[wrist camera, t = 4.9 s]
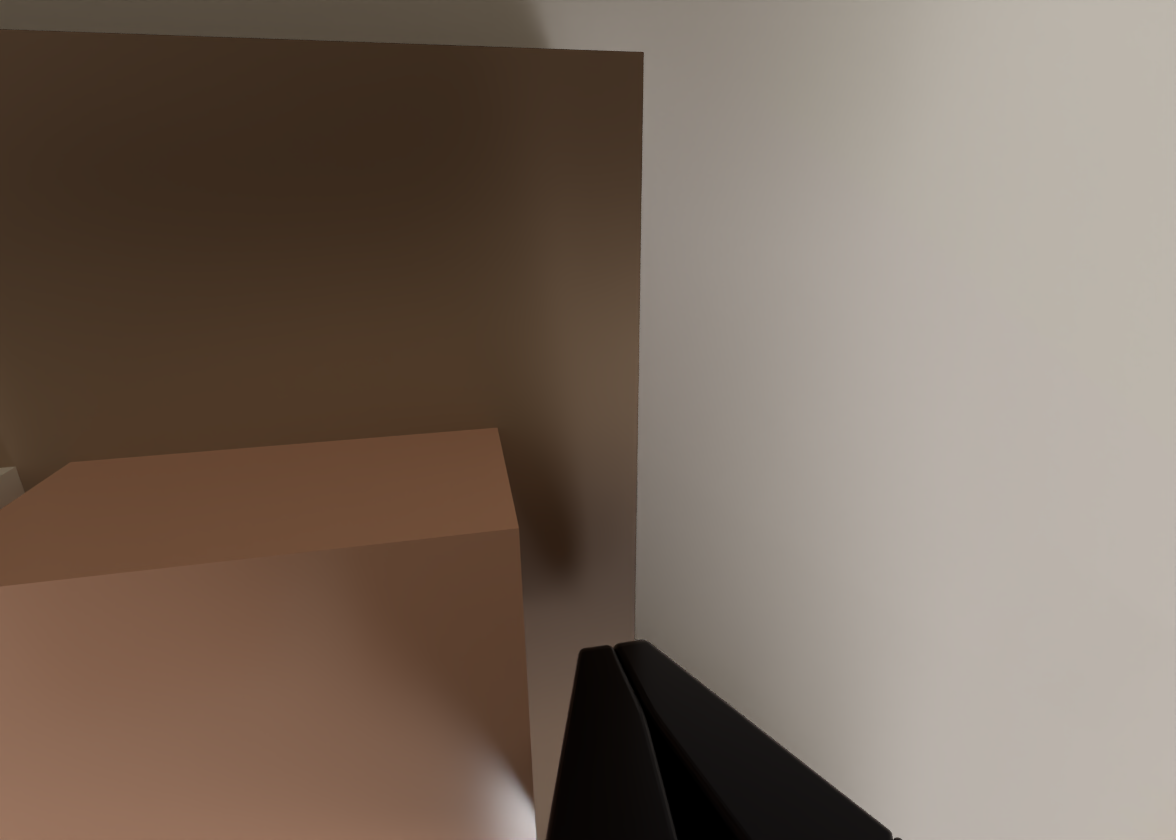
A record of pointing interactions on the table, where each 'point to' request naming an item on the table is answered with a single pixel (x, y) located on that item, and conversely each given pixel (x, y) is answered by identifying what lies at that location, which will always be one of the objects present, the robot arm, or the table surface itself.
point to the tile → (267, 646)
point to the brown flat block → (339, 278)
